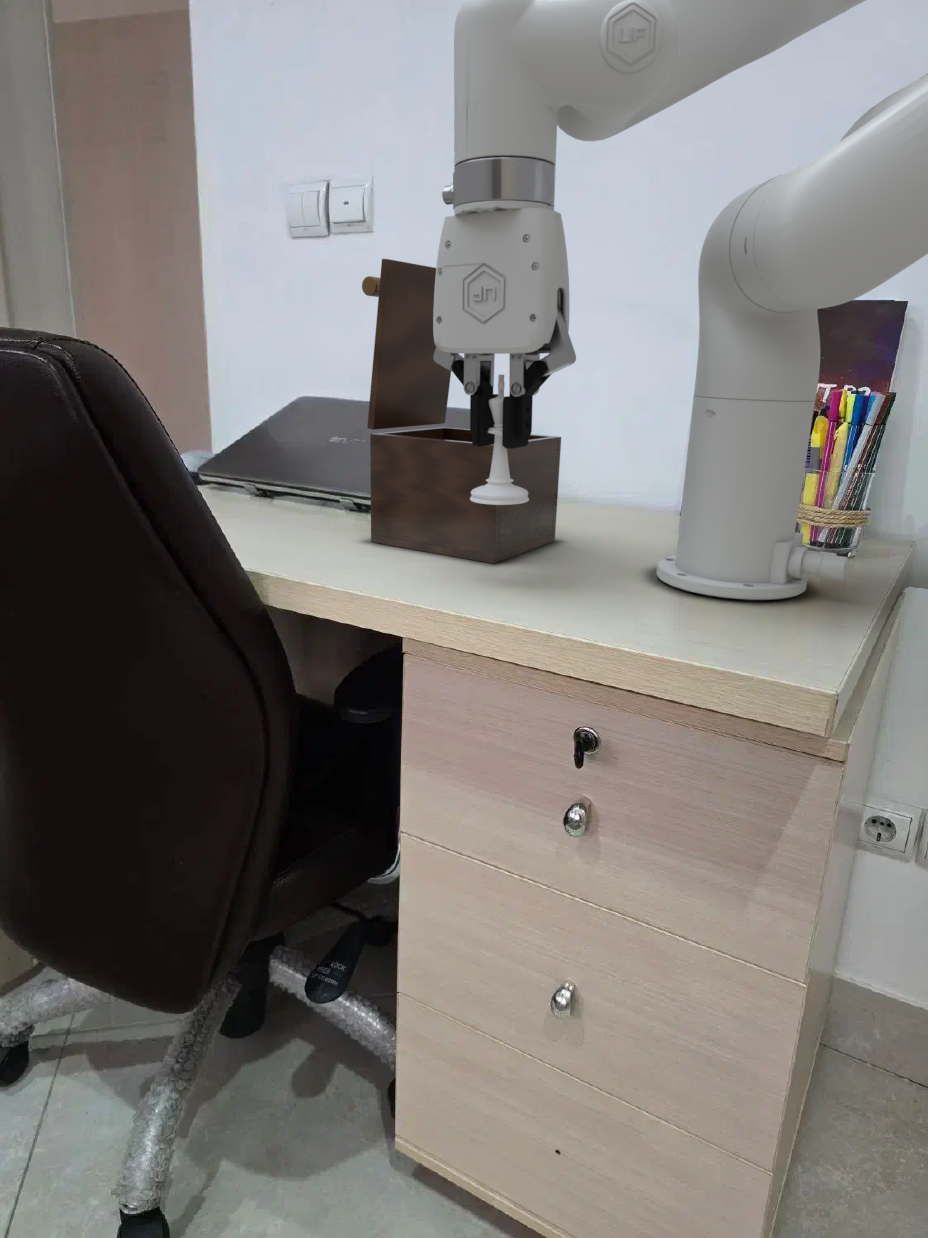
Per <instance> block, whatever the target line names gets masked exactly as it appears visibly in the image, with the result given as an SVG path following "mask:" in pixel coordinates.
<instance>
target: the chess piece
mask: <svg viewBox="0 0 928 1238" xmlns="http://www.w3.org/2000/svg"><path fill="white" fill-rule="evenodd" d="M497 375H498V377H497V378H498V381H497V394H498V396H497V397H496V398H492V399H490V400H489V406H490V409H491V412H492V417H493V420H494V423H495V425H494V426H495V427H492V428H489V429H488V430H489V431H487V432H488V433H491V434H495V439H494V448H493V456H492V464H491V471H490V476H489V478H488V479H486V481H487V482H488V483H487V484H486V485H483V486H480V487H477V488H475V489H473V490H472V491H471V495H472V496H471V497H470V500H471V501H472V502H475V503H480V504H490V505H512V504H521V503H525V502H528V501H529V498H528V491H527V490H526V489H524V488H521V487H519V486H515V485H513V484H512V483H511V482H513V481H514V480H513V479H511V478H510V473H509V465H508V455H507V448H505V447H503V445H502V427H503V399H504V397H505V385H506V384H505V383H506V382H505V374H497Z"/></svg>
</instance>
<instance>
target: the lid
mask: <svg viewBox="0 0 928 1238" xmlns="http://www.w3.org/2000/svg"><path fill="white" fill-rule="evenodd" d="M435 276H436V267H433V266H427V265H424V264H423V265H422V264H417V263H411V262H405V261H401V260H394V259H390V258H381V267H380V276H379V277H377V276H371V275H368V276H366V277H364V279H363V280H362V282H361V289H362V293H364V295H366V296H368V297H374V298H378V300H377V312H376V324H375V335H374V345H373V355H372V356H373V358H372V367H371V371H372V372H371V379H370V380H371V382H370V391H369V392H370V393H369V406H368V413H367V414H368V415H367V429H369V430H373V431H374V430H384V429H396V428H409V427H419V426H431V425H442V424H445V423H446V419H447V418H446V417H447V409H448V401H449V392H450V386H451V385H450V384H451V377H452V371H449V370H448V369H446V368H444V367H442V366H441V365H439V364H437V363H436V362H435V361H434V359H433V355H434V352H435V349H436V345H435V343H434V336H433V308H434V289H435Z"/></svg>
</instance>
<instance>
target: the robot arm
mask: <svg viewBox="0 0 928 1238" xmlns="http://www.w3.org/2000/svg"><path fill="white" fill-rule="evenodd" d="M865 1H867V0H466V1H465V2H463V3H462V4H461V7H460V8H459V10H458V12H457V14H456V16H455V22H454V33H453V105H454V106H453V119H454V120H453V151H454V154H453V155H454V156H453V157H454V158H453V163H454V164H453V173H452V183H451V184H450V185H445V186H443V188H442V191H441V197H442V201H443V203H445V205H447V206H448V205H452V209H453V211H454V213H453V215H448V216H445V217H444V220H443V224H442V229H441V234H440V238H439V243H438V244H439V245H438V251H437V256H436V258H437V259H436V267H435V268H436V276H435V289H434V308H433V336H434V343H435V345H436V349H435V352H434V355H433V359H434V361H435V362H436V363H437V364H439V365H441V366H442V367H444V368H446V369H448V370H449V371H451V373H453V374H454V376H455V377H456V379H457V380H458V381H459V382H460V384H461V385H462V386H463V391H464V393H465V395H467V396H469V399H470V400H469V401H470V402H469V429H470V431H471V433H472V444H473V446H479V447H481V446H486V445H492V444H494V439H495V434H491V433H488V432H487V431H489V430H488V429H489V428H492V427H495V426H494V425H495V423H494V420H493V417H492V412H491V409H490V406H489V400H490V399H492V398H496V397H497V396H498V393H494V389H495V388H494V387H495V356H496V354H497V355H498V354H500V355H501V354H503V355H504V354H505V355H506V354H509V383H508V384H509V395H506V396H504V399H503V427H502V445H503V447H505V448H508V449H513V448H518V447H524V446H527V445H528V439H529V437H530V435H531V434H532V431H533V399H534V398H533V397H534V396H536V395H538V393H539V391H540V388H541V387H542V386H543V384H545V382H546V381H547V380H548V379H549V378H550V377H551V376H552V375H553V374H554V373H557V372H559V371H561V370H563V369H566V368H567V367H569V366H572V365H573V364H575V362H576V361H577V353H576V351H575V349H574V345H573V342H572V339H571V336H570V334H569V333H570V332H569V329H570V276H569V274H570V273H569V261H568V251H567V242H566V235H565V230H564V223H563V218H562V213H560V212H558V211H556V210H555V199H556V167H557V137H558V128H559V129H560V130H561V131H562V132H563V133H565V134H566V135H567V136H569V137H570V138H573V139H575V140H578V141H583V142H598V141H603V140H607V139H609V138H611V137H614V136H616V135H618V134H620V133H622V132H624V131H626V130H628V129H630V128H632V127H634V126H635V125H637V124H640V123H641V122H643V121H646V120H647V119H649V118H651V117H653V116H655V115H656V114H659V113H660V112H662V111H664V110H666V109H668V108H669V107H672V106H674V105H675V104H677V103H679V102H680V101H683V100H685V99H686V98H688V97H690V96H692V95H694V94H696V93H697V92H699V91H700V90H703V89H704V88H706V87H708V86H709V85H711V84H713V83H714V82H716V81H719V80H721V79H722V78H724V77H726V76H727V75H729V74H731V73H732V72H735V71H737V70H739V69H741V68H743V67H745V66H746V65H749V64H752V63H754V62H755V61H758V60H759V59H762V58H764V57H766V56H768V55H770V54H772V53H773V52H776V51H777V50H780V49H781V48H783V47H785V46H786V45H788V44H789V43H791V42H792V41H794V40H795V39H798V38H800V37H802V36H803V35H805V34H807V33H808V32H810V31H812V30H814V29H816V28H817V27H819V26H821V25H823V24H825V23H827V22H829V21H831V20H832V19H834V18H836V17H838V16H840V15H842V14H843V13H845V12H847V11H849V10H850V9H852V8H854V7H856V6H858V5H860V4H862V3H864V2H865ZM927 255H928V72H927V73H925V74H924V75H923V76H921V77H920V78H918V79H916V80H915V81H913V82H911V83H909V84H907V85H906V86H903V87H902V88H900V89H898V90H896V91H895V92H893V93H891V94H889V95H887V96H886V97H885V98H883V99H882V100H881V101H879V102H878V103H876V104H875V105H874V106H872V107H870V108H869V109H868V110H867V111H866V112H865V113H864V114H863V115H861V116H860V117H859V118H858V119H857V120H856V121H855V122H854V123H853V124H852V125H851V127H850V128H849V129H848V130H847V131H846V132H845V133H844V135H843V136H842V137H841V139H840V141H839V142H838V143H836V144H834V145H833V146H831V147H830V148H828V149H827V150H826V151H824V152H822V153H821V154H820V155H818V156H816V157H814V158H813V159H811V160H809V161H808V162H806V163H804V164H801V166H798V167H795V168H794V169H791V170H789V171H787V172H785V173H782V174H779V175H777V176H775V177H773V178H772V177H771V178H770V179H768V180H765V181H764V182H761V183H759V184H757V185H755V186H753V187H750V188H749V189H747V190H745V191H744V192H742V193H740V194H739V195H738V196H736V197H735V198H733V199H732V200H731V201H730V202H728V204H727V205H726V206H725V207H723V209H722V210H721V211H720V212H719V214H718V215H717V216H716V218H715V219H714V220H713V222H712V224H711V225H710V227H709V229H708V230H707V232H706V236H705V238H704V240H703V244H702V248H701V251H700V255H699V261H698V277H697V279H698V282H697V283H698V284H697V285H698V286H697V287H698V318H699V321H698V326H699V327H698V328H699V329H698V331H699V332H698V349H697V360H696V361H697V362H696V370H695V381H694V391H693V396H692V405H691V406H692V407H691V416H690V425H689V433H688V442H687V443H688V444H687V451H686V453H687V454H686V461H685V470H684V471H685V472H684V480H683V489H682V491H683V492H682V499H681V507H680V516H679V527H678V536H677V544H676V553H675V554H673V555H669V556H665V557H663V558H661V559H659V560H658V562H657V563H656V574H655V575H656V576H657V577H658V579H659V580H660V581H662V582H663V583H665V584H667V585H669V586H671V587H674V588H677V589H680V590H682V591H686V592H690V593H695V594H699V595H705V596H710V597H717V598H722V599H735V600H748V601H749V600H750V601H770V600H783V599H789V598H793V597H797V596H799V595H801V594H804V593H805V592H806V590H807V587H808V576H807V575H811V576H817V577H819V578H820V579H821V578H822V579H828V580H835V581H841V582H843V581H845V578H846V574H847V569H848V564H849V558H848V556H841V555H838V554H837V552H829V551H824V550H823V551H822V550H820V551H817V550H810V549H809V548H808V546H804V545H803V540H804V533H802V532H796V528H797V521H798V515H799V509H800V503H801V495H802V489H803V481H804V476H805V470H806V462H807V456H808V449H809V442H810V436H811V429H812V423H813V418H814V417H813V416H814V410H815V404H816V400H817V392H818V386H819V378H820V369H821V367H820V366H821V337H820V325H819V318H818V316H819V315H818V310H819V309H826V308H830V307H831V308H832V307H836V306H840V305H843V304H846V303H849V302H851V301H853V300H855V299H858V298H860V297H862V296H863V295H865V294H867V293H869V292H871V291H873V290H874V289H876V288H878V287H880V286H881V285H883V284H884V283H886V282H887V281H889V280H891V279H892V278H893V277H895V276H896V275H898V274H900V273H901V272H903V271H904V270H906V269H907V268H909V267H910V266H912V265H913V264H915V263H916V262H917V261H919V260H921V259H922V258H924V257H925V256H927ZM461 354H463V355H461ZM541 354H547V355H546V356H544V357H542V358H541Z"/></svg>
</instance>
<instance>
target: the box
mask: <svg viewBox="0 0 928 1238" xmlns="http://www.w3.org/2000/svg"><path fill="white" fill-rule="evenodd" d="M369 436H370V437H369V438H370V439H369V441H370V443H369V444H370V449H369V450H370V452H369V453H370V455H369V457H370V460H369V461H370V542H371V543H375V544H380V545H386V546H393V547H398V548H403V549H410V550H414V551H415V550H416V551H420V552H426V553H431V554H437V555H443V556H448V557H449V556H450V557H455V558H461V559H466V560H471V561H477V562H483V563H488V564H496V563H499V562H502V561H505V560H508V559H511V558H513V557H517V556H519V555H521V554H524V553H527V552H529V551H532V550H535V549H538V548H541V547H544V546H546V545H548V544H552V543H554V542H556V527H557V514H558V513H557V512H558V499H559V498H558V496H559V481H560V465H561V464H560V463H561V449H562V436H555V435H544V434H532V433H531V435H530V437H529V439H528V445H527V446H524V447H518V448H513V449H508V448H507V455H508V465H509V473H510V478H511V479H513V480H514V481H513V482H511V483H512V484H513V485H515V486H519V487H521V488H524V489H526V490H527V491H528V498H529V501H528V502H525V503H521V504H512V505H490V504H480V503H475V502H472V501H471V500H470V497H471V496H472V495H471V491H472V490H473V489H475V488H477V487H480V486H483V485H486V484H487V483H488V482H487V481H486V479H488V478H489V476H490V471H491V464H492V456H493V448H494V444H492V445H486V446H481V447H479V446H473V444H472V433H471V431H470V428H460V427H459V428H458V427H445V426H441V427H440V426H439V427H428V428H419V429H406V430H396V431H387V432H386V431H385V432H376V433H370V435H369Z"/></svg>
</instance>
